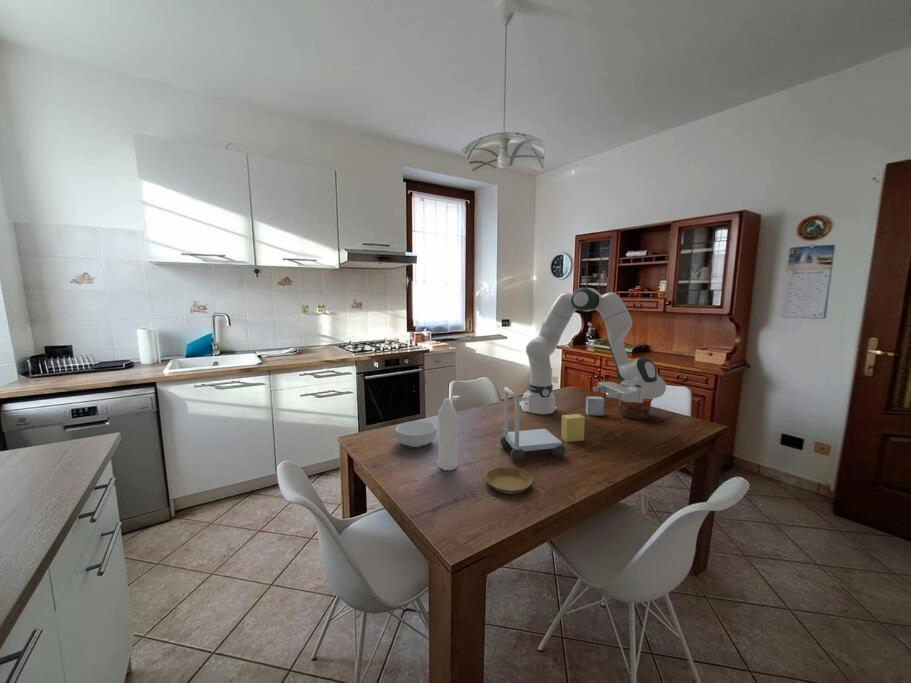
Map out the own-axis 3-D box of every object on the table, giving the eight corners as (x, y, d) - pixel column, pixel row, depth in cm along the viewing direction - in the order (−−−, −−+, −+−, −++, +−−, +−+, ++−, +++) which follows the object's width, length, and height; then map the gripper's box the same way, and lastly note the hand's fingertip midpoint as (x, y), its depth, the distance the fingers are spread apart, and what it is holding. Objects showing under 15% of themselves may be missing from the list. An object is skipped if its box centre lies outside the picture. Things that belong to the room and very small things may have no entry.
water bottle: (447, 472, 125) (446, 402, 122) (435, 466, 130) (434, 398, 126) (465, 464, 131) (464, 397, 127) (453, 458, 136) (452, 394, 132)
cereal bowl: (445, 443, 150) (444, 426, 149) (414, 456, 138) (414, 438, 137) (418, 432, 161) (417, 417, 160) (387, 444, 149) (387, 427, 148)
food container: (611, 415, 181) (612, 395, 180) (622, 408, 193) (623, 388, 191) (646, 423, 170) (647, 401, 169) (655, 414, 182) (657, 394, 180)
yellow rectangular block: (561, 437, 154) (561, 415, 153) (578, 436, 156) (579, 413, 155) (566, 441, 150) (567, 418, 149) (583, 440, 152) (584, 417, 150)
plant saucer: (508, 469, 127) (508, 462, 127) (541, 487, 115) (542, 479, 115) (476, 483, 119) (476, 475, 118) (508, 503, 107) (508, 495, 106)
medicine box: (601, 413, 185) (601, 396, 184) (603, 415, 181) (604, 399, 180) (585, 412, 186) (585, 396, 185) (587, 415, 182) (588, 398, 181)
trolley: (499, 447, 145) (500, 387, 142) (548, 442, 150) (549, 383, 146) (512, 462, 132) (513, 396, 129) (565, 457, 136) (567, 393, 133)
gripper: (614, 377, 165) (586, 379, 162) (646, 388, 145) (615, 391, 143) (613, 391, 166) (586, 393, 163) (645, 404, 146) (615, 406, 143)
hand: (600, 392), depth 153 cm, fingers open, 8 cm apart
